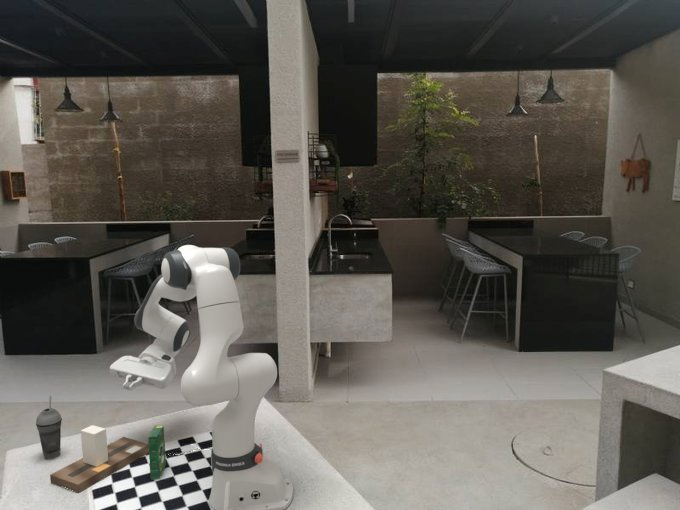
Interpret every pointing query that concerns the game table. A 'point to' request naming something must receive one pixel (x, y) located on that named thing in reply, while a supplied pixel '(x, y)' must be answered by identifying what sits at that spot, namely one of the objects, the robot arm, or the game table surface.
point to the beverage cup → (49, 432)
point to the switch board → (87, 475)
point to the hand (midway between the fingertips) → (126, 388)
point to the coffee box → (157, 452)
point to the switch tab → (94, 445)
